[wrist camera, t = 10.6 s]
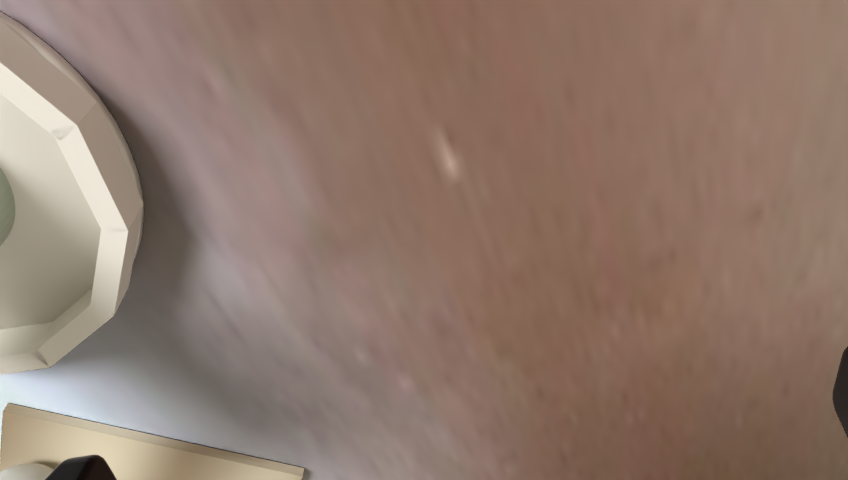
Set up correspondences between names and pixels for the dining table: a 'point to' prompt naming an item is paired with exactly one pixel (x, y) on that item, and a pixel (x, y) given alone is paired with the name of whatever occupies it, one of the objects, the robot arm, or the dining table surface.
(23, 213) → the round white tray
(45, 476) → the glossy white ball
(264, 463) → the board
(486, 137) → the dining table surface
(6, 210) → the pale green lidded canister
